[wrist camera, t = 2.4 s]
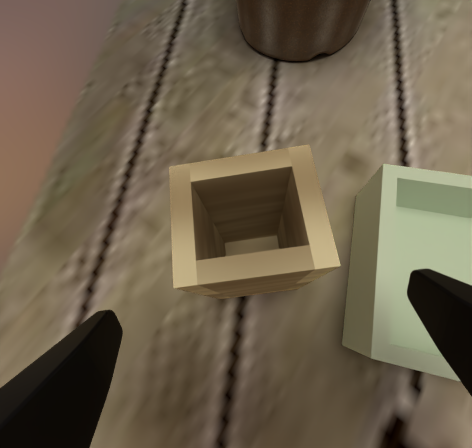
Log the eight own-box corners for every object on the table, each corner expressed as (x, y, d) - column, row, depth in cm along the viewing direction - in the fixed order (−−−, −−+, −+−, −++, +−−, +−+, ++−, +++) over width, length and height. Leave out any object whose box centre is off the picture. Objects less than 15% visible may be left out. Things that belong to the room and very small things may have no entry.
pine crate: (297, 289, 17) (340, 265, 8) (220, 299, 18) (173, 288, 8) (285, 226, 19) (309, 144, 9) (214, 236, 19) (169, 166, 10)
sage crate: (535, 394, 14) (652, 431, 10) (341, 345, 16) (370, 358, 12) (516, 221, 17) (599, 193, 13) (355, 196, 19) (383, 163, 15)
